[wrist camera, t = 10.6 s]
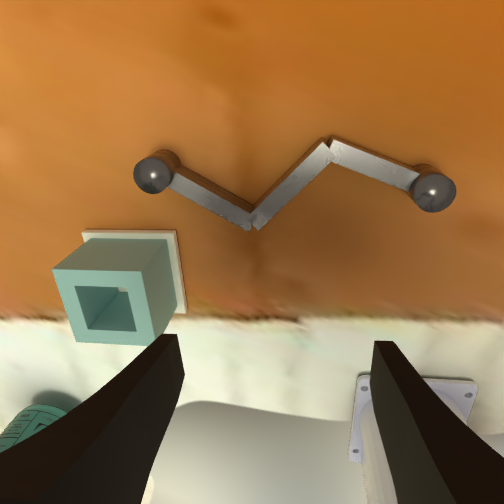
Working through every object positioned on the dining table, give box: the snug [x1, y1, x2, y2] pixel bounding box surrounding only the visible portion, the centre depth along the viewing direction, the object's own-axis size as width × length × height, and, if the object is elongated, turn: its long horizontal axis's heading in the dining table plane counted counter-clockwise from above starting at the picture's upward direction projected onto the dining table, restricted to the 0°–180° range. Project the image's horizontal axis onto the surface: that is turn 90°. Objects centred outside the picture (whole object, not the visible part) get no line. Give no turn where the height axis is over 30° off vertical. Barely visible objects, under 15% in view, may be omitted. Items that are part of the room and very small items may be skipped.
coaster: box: [82, 229, 188, 313], centre depth 23 cm, size 6×6×1 cm
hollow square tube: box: [52, 238, 177, 346], centre depth 21 cm, size 5×5×4 cm
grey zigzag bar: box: [133, 135, 456, 232], centre depth 19 cm, size 5×16×2 cm, turn 92°
